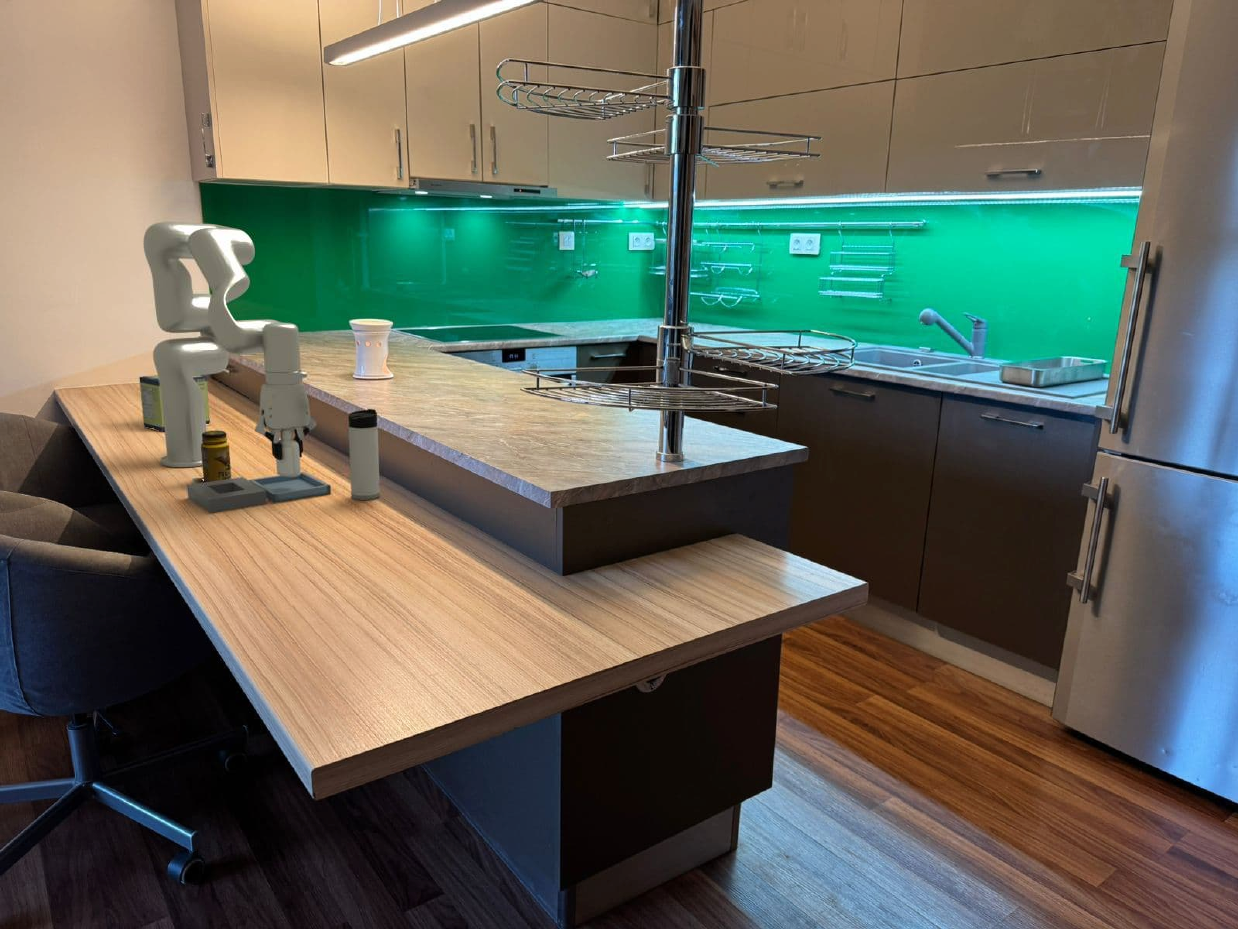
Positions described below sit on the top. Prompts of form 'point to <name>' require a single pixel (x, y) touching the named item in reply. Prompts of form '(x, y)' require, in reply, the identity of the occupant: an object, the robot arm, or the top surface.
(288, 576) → the top surface
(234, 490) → the bottle holder
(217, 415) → the top surface
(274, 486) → the parts tray
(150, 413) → the protein box
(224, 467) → the condiment
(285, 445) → the eye dropper bottle
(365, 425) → the travel mug
